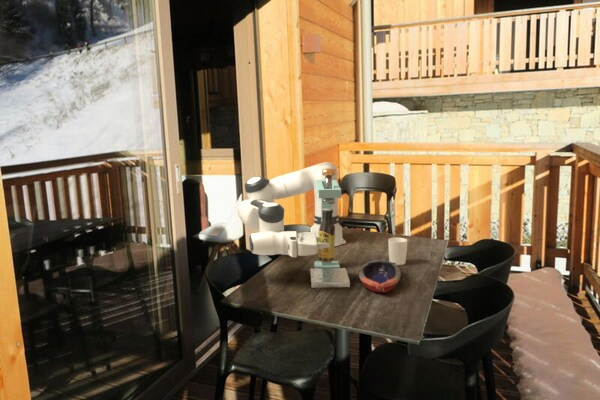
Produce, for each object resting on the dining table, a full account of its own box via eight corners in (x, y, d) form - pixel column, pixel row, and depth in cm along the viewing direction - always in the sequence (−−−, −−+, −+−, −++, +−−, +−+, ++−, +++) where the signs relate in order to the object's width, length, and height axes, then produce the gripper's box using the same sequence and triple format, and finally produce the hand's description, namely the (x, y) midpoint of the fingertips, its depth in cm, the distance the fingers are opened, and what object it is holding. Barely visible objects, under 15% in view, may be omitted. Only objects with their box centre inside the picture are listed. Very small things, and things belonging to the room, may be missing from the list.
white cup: (386, 264, 208) (387, 241, 206) (389, 259, 215) (389, 236, 214) (406, 266, 206) (406, 242, 204) (407, 260, 213) (408, 238, 211)
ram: (321, 201, 188) (321, 168, 186) (335, 201, 188) (334, 168, 186) (322, 204, 183) (322, 170, 181) (336, 203, 183) (336, 169, 181)
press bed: (310, 273, 199) (310, 268, 198) (345, 272, 199) (345, 268, 198) (311, 287, 183) (311, 282, 183) (349, 287, 183) (349, 281, 183)
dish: (401, 270, 201) (401, 258, 200) (399, 298, 172) (399, 285, 171) (362, 268, 204) (362, 256, 203) (354, 296, 175) (354, 282, 174)
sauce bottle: (314, 260, 190) (314, 208, 187) (326, 257, 194) (326, 206, 191) (326, 264, 185) (326, 211, 182) (338, 260, 189) (338, 209, 186)
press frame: (314, 264, 210) (313, 179, 204) (338, 263, 210) (337, 179, 204) (316, 286, 184) (315, 190, 177) (344, 286, 184) (344, 189, 177)
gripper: (292, 243, 199) (327, 243, 199) (292, 258, 179) (330, 258, 179) (292, 228, 198) (327, 227, 198) (291, 241, 177) (330, 241, 178)
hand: (329, 242), depth 188 cm, fingers closed on sauce bottle, 6 cm apart
